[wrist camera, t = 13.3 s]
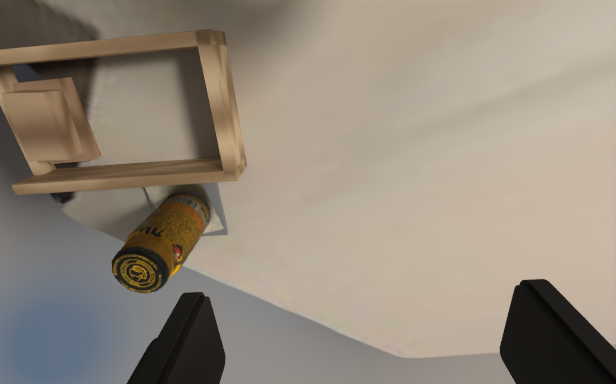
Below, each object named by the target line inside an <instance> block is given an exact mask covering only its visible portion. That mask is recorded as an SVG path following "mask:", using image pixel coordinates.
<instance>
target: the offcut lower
mask: <svg viewBox="0 0 616 384" xmlns="http://www.w3.org/2000/svg"><path fill="white" fill-rule="evenodd" d="M13 85H14V88H15V90H16V91H22V90H63V92H64V95H65V98H66V101H67V104H68V107H69V110H70V113H71V116H72V119H73V122H74V125H75V128H76V131H77V134H78V137H79V140H80V143H81V146H82V149H83V152H84V154H81V155H79V156H77V157H74V158H72V159H70V160H51V161H49V163H50V164H58V163H69V162H80V161H91V160H93V159H95V158H97V157H99V156H101V153H100V150H99V148H98V145H97V143H96V140H95V137H94V135H93V132H92V130H91V127H90V125H89V122H88V119H87V117H86V114H85V112H84V109H83V106H82V104H81V101H80V99H79V96H78V94H77V91H76V88H75V86H74V83H73V81H72V78H71V77H68V78H59V79H50V80H40V81H32V82H22V83H13Z"/></svg>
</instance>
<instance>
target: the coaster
mask: <svg viewBox="0 0 616 384" xmlns="http://www.w3.org/2000/svg"><path fill="white" fill-rule="evenodd" d="M202 184H203V186H204V188H205V190H206V192H207V195H208V197H209V199H210V201H211V202H212V204H213V207H214V208H215V211H216V213H217V215H218V217H219V219H220V222H221V224H222V226H223V228H224V229H221V230H217V231H213V232H208V233H204V234H202V235H201V236H215V235H227V234H228V230H227V225H226V220H225V216H224V211H223V207H222V202H221V198H220V193H219V189H218V184H217V182H213V183H202ZM146 192H147V191H146ZM147 195H148V193H147ZM148 199H149V202H150V205H151V208H152V211H153V212H154V211H155V210H156V208H155V206H154V204H153V202H152V200H151V199H150V196H149V195H148Z"/></svg>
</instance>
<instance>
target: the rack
mask: <svg viewBox="0 0 616 384" xmlns="http://www.w3.org/2000/svg"><path fill="white" fill-rule="evenodd" d="M192 48H198V50H199V54H200V59H201V64H202V69H203V74H204V79H205V83H206V88H207V93H208V98H209V103H210V108H211V112H212V117H213V122H214V127H215V132H216V137H217V141H218V146H219V151H220V156H221V157H219V158H205V159H190V160H176V161H161V162H147V163H133V164H118V165H104V166H89V167H75V168H60V169H56V167H55V165H54V164H50V163H49V161H29V160H28V158H27V155H26V153H25V150H24V148H23V146H22V143H21V141H20V138H19V136H18V134H17V131H16V129H15V126H14V124H13V122H12V119H11V117H10V114H9V112H8V110H7V107H6V105H5V102H4V100H3V97H2V95H1V93H7V92H15V91H16V90H15V88H14V85H13V83H18V81H17V79H16V77H15V74H14V72H13V70H12V68H11V65H21V64H31V63H42V62H53V61H63V60H74V59H85V58H95V57H106V56H117V55H128V54H138V53H149V52H160V51H170V50H181V49H192ZM0 105H1V107H2V110H3V112H4V114H5V116H6V118H7V120H8V122H9V124H10V127H11V129H12V131H13V133H14V135H15V137H16V139H17V141H18V143H19V145H20V147H21V150H22V152H23V154H24V156H25V158H26V160H27V162H28V164H29V166H30V168H31V170H32V173H33V176H31V177H29V178H27V179H24V180H22V181H20V182H17V183H15V184H13V185H12V188H13V190H14V192H15V194H16V195H24V194H40V193H56V192H72V191H88V190H103V189H119V188H135V187H150V186H166V185H182V184H197V183H213V182H228V181H237V180H238V178H239V177H240V175H241V174H242V172H243V170H244V169H245V167H246V166H247V163H246V157H245V152H244V146H243V140H242V134H241V128H240V123H239V117H238V111H237V105H236V100H235V94H234V88H233V82H232V76H231V71H230V65H229V59H228V53H227V47H226V42H225V36H224V32H219V31H213V30H198V31H188V32H178V33H168V34H157V35H147V36H137V37H126V38H116V39H106V40H96V41H85V42H75V43H65V44H54V45H44V46H34V47H24V48H13V49H3V50H0Z"/></svg>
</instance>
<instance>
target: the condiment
mask: <svg viewBox="0 0 616 384" xmlns="http://www.w3.org/2000/svg"><path fill="white" fill-rule="evenodd" d="M144 188H145V189H146V191H147V193H148V195H149V196H150V199H151V200H152V202H153V204H154V206H155V208H156V210H155V211H154V212H153V213H152V214H151V215H150V216H149V217H148V218H147V219H146V220H145V221H144V222H143V223H142V224H141V225H139V227H138V228H137V229H135V231H134V232H133V233H131V234H130V235H129V237H128V238H127V240H126V242H125V245H124V246H123V247H122V249H121V250H120V251H119V252H118V253H117V254H116V256H115V257H114V259H113V260H112V272H113V274H114V276H115V278H116V279H117V280H118V281H119V282H120V284H122V285H123V286H125V287H126V288H128V289H129V290H131V291H135V292H139V293H149V292H154V291H157V290H159V289H160V288H161V287H163V286H164V284H165V283H166V282H167V280H168V279H169V278H170V277H171V275H173V274H174V273H176V272H177V271H178V270H179V269H180V268H181V266H182V264H183V263H184V262H185V260H186V259H187V257H188V255H189V254H190V252H191V251H192V250H193V248H194V246H195V245H196V244H197V241H198V240H199V239H200V237H201V235H202V234H204V233H208V232H213V231H217V230H221V229H224V228H223V226H222V224H221V222H220V219H219V217H218V215H217V213H216V211H215V208H214V207H213V204H212V202H211V201H210V199H209V197H208V195H207V192H206V190H205V188H204V186H203V184H202V183H197V184H182V185H166V186H150V187H144Z"/></svg>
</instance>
